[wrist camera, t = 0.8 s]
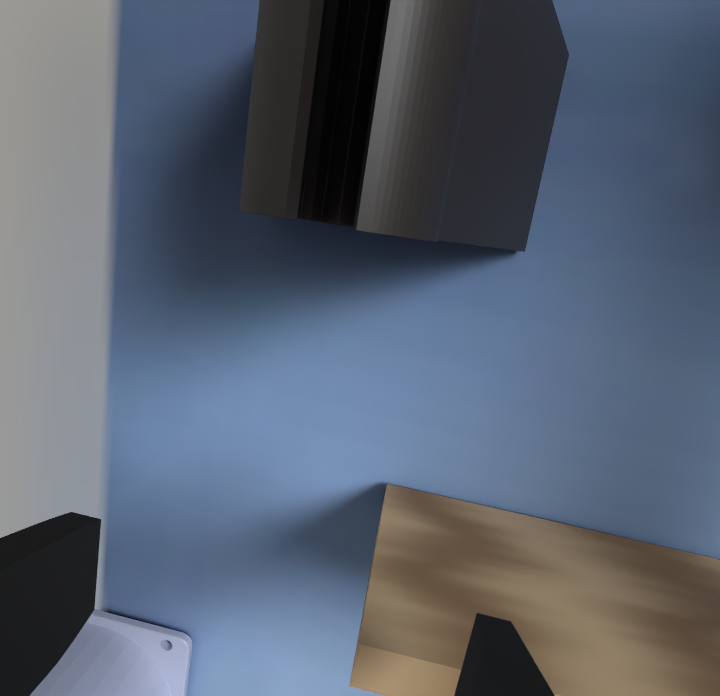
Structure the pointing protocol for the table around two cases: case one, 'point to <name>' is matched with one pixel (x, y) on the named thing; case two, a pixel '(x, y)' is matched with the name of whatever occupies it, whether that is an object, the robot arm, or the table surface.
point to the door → (533, 603)
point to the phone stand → (404, 115)
